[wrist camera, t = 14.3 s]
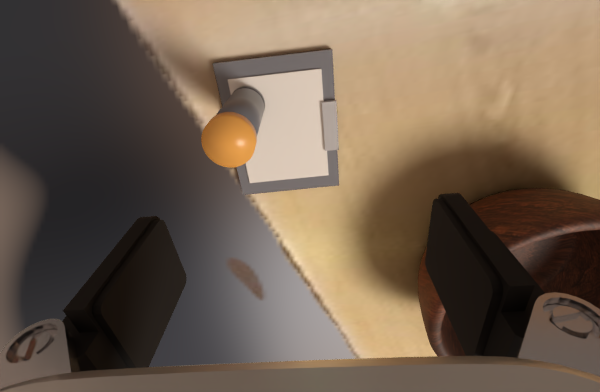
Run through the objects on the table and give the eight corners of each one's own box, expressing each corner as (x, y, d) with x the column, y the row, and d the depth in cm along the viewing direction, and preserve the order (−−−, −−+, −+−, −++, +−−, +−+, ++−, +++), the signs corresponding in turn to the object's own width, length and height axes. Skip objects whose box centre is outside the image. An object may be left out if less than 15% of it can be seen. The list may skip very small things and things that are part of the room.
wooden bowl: (578, 300, 46) (645, 368, 37) (408, 327, 49) (432, 396, 40) (625, 145, 34) (743, 191, 25) (394, 193, 37) (425, 250, 28)
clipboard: (332, 48, 29) (333, 49, 28) (339, 182, 36) (340, 187, 35) (214, 62, 29) (211, 64, 28) (243, 192, 36) (242, 197, 35)
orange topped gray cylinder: (262, 82, 29) (249, 113, 20) (269, 119, 31) (259, 163, 22) (224, 87, 29) (194, 120, 20) (233, 124, 31) (209, 170, 22)
